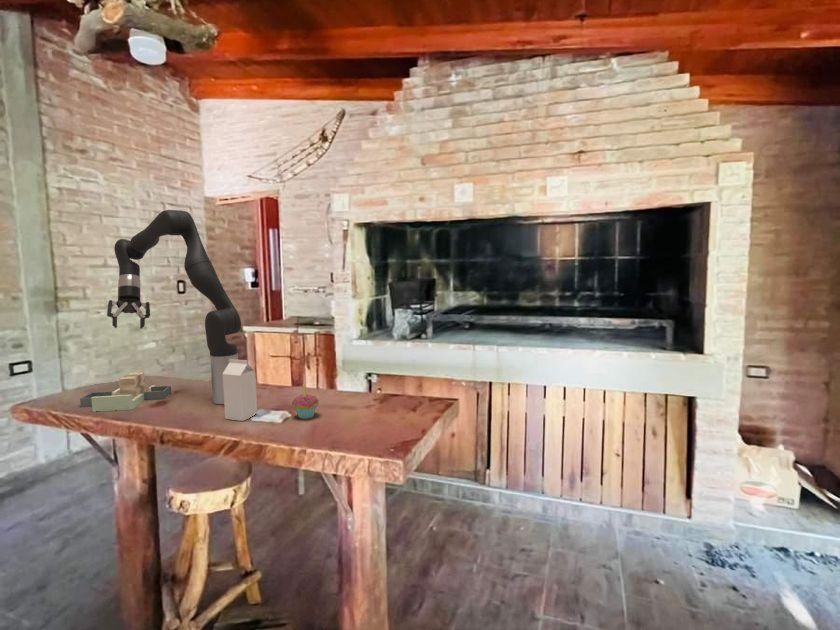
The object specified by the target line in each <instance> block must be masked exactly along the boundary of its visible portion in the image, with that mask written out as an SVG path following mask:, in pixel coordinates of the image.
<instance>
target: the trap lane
mask: <svg viewBox="0 0 840 630" xmlns="http://www.w3.org/2000/svg"><path fill="white" fill-rule="evenodd" d="M147 389H148V391H146V392H144V394H139V395H138V396H136V397H135V398H134V399H132V395H120V387H118V388H117V389H115V390H113V391H93V392H89V393H88V394H86V395H84V396H82V397H80V398H79V402H80V407H81V408H83V407H85V406H87V407H91V408H92V413H93V412H94V413H96V411H100V412H114V411H115V410H117V411H129V410H133V409H135V408H136V407H138V406H139V405H140V404H141V403H143V402H144V401H154V400H155V401H156V400H165V399H166V397H167V396H168V395H169V396H170V395H172V385H158V386H156V385H154V384H153V385H152V384H151V386H149V387H147ZM169 396H168V397H169ZM168 397H167V398H168ZM85 408H86V407H85Z"/></svg>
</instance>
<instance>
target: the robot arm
mask: <svg viewBox="0 0 840 630" xmlns="http://www.w3.org/2000/svg"><path fill="white" fill-rule="evenodd" d="M162 236H181V237H182V239H183V240H184V243H185V245H186V254H185V259H184V271H185V273H186V276H187V277H188V280H189V281H190V283H191V285H192V286H193V287H194V288H195V289H196V290H197V291H198V292H199V293H200V294H201V295H203V296H204V297H206V298H207V299H208V300H209V301H210V302H211V303H212V304H213V306H214V308H215V309H216V310H211V311H208V313H207V314H206V315H205V319H204V329H205V337H206V346H207V348H208V350H209V360H210V374H211V388H212V389H211V390H212V402H213V404H215V405H224V389H223V372H224V371H225V369H226V367H227V366H228V364H229V359H234V360H239V356H238V355H239V354H238V347H237V345H236V344H233V343H229V342H228V341H227V338H226V336H227V335H228V336H229V335H233V334H236V333H238V332H240V330H241V328H242V320H241V317H240V315H239V313H238V310H237V309H236V307H235V305H234V304H233V302H232V301H231V299H230V298H229V296H228V294H227V293H226V290H225V288H224V287H223V284H222V283H221V281H220V279H219V276H218V274H217V272H216V270H215V267H214V265H213V264H212V261H211V260H210V258H209V255H208V254H207V251H206V249H205V247H204V244H203V242H202V239H201V236H200V234H199V231H198V228H197V226H196V222H195V221H194V218H193V216H192V215H191V213H189V212H188V211H186V210H180V209H179V210H177V209H164V210H163V211H161V212H159V214H157V216H156V217H155V218H154V219H153V220H152V221H151V222H150V223H149V224H148V225H147V227H145V228H144V229H142V230H141V231H140V232H137V234H135V235H133V236H132V237H131V239H130V240H128V239H125V238H120V239H118V240H117V241H116V242H115V244H114V254H115V255H114V256H115V258H116V261H117V264H118V267H119V269H118V270H119V271H118V273H119V274H118V282H117V284H118V285H117V301H113V300H112V299H109V300H108V303H107V311H106V316H107V317H108V318H111V319H112V324H111V325H112V327H113V328H114V329H117V328H118V317H119V316H120V315H121V313H123V314H136V315H137V317H139V318H140V319H139V328H140V329H143V328H144V327H145V323H146V321H145V320H146V319H150V317H151V308H150V307H151V306H150V305H151V304H150V302H149V301H146V302H141V279H140V277H141V270H140V269H141V268H140V267H141V266H140V264H139V263H137V262H135V261H133V260H136V261H139V260H141V259H143V258H144V256H145V255H146V253H147V252H148V251H149V250H151V249H152V248H154V247H156V246H157V245H158V243H159V242H160V238H161V237H162ZM115 306H117V308H118V309H117V310H116V311H115V312H114V313H113V312H112V311H113V309H112V308H114V307H115ZM141 307H142V308H143V309H145V313H143V312H142V310H141V309H140V308H141Z"/></svg>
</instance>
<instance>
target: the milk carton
mask: <svg viewBox="0 0 840 630" xmlns="http://www.w3.org/2000/svg"><path fill="white" fill-rule="evenodd" d="M248 362H249V361H248V360H245V359H244V360H243V359H238V360H234V359H229V364H228V366H227V367H226V369H225V371H224V372H223V389H224V404H223V405H224V418H225V420H232V421H240V422H243V421H244V422H245V421H246V420H248V419H251V418H253V417H255V416H256V415H255V414H257V415H258V401H257V382H256V381H257V379H256V370H255V369H254V368H253V367H252V366H251V365H250V364H249V363H248ZM254 415H255V416H254ZM252 416H253V417H252ZM250 417H251V418H250Z"/></svg>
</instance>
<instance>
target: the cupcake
mask: <svg viewBox="0 0 840 630" xmlns="http://www.w3.org/2000/svg"><path fill="white" fill-rule="evenodd" d="M302 391H303V394H300V395H298V396H296V397H295V398H294V399H293V400H292V401H291V406H292V408H293V409H295V411H296V413H297V416H298V418H300V419H302V420H305V419H306V420H307V419H311V418H313V417H314V416H315V412H316V409H317V407H318V406H319V399H318V397H317V396H313V395H312V394H307V393H306V383H305V382H304V381H303V384H302Z"/></svg>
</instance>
